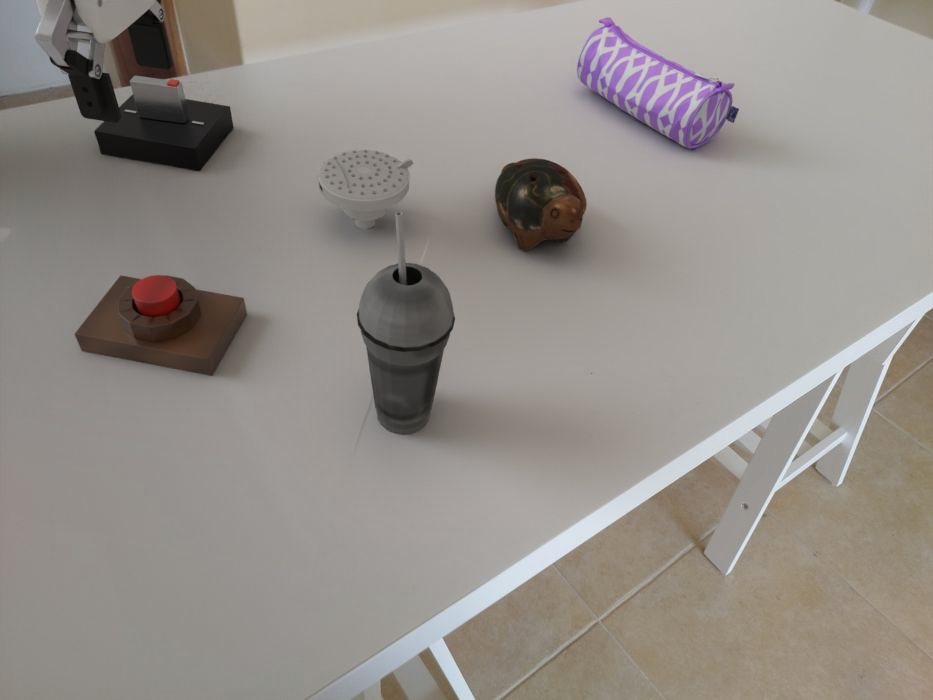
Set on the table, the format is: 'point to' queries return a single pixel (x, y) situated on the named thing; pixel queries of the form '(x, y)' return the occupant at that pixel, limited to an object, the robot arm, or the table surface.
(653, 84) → the pencil case
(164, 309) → the stop button
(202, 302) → the button block
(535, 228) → the decorative turtle
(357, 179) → the showerhead
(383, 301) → the beverage cup
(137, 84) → the grey rectangular plate
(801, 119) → the table surface
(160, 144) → the black lever switch box
